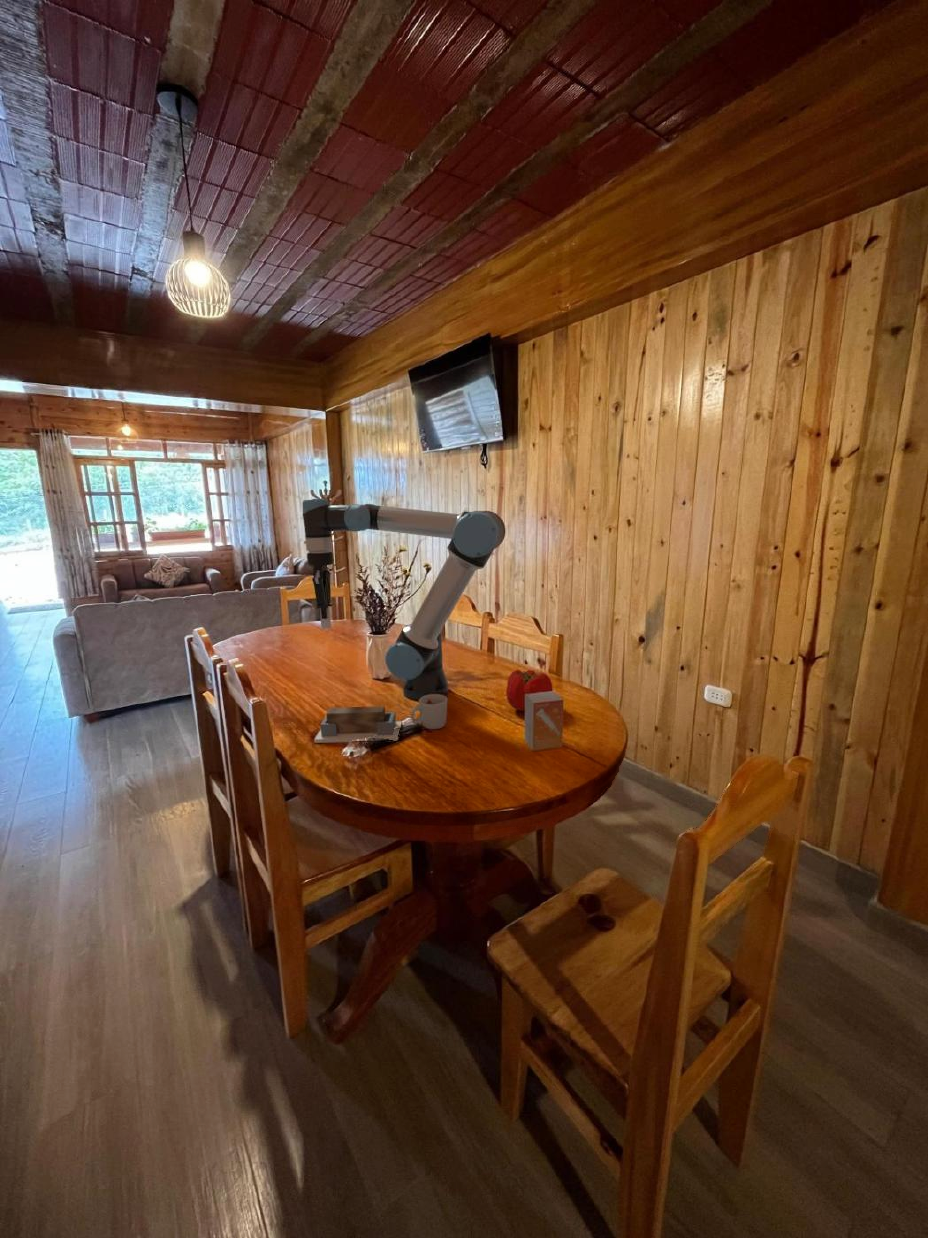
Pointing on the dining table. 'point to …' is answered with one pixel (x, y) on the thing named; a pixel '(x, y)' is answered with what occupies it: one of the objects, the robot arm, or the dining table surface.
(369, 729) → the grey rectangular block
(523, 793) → the dining table surface
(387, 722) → the board
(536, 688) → the tomato
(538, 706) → the small box
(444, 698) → the cup
